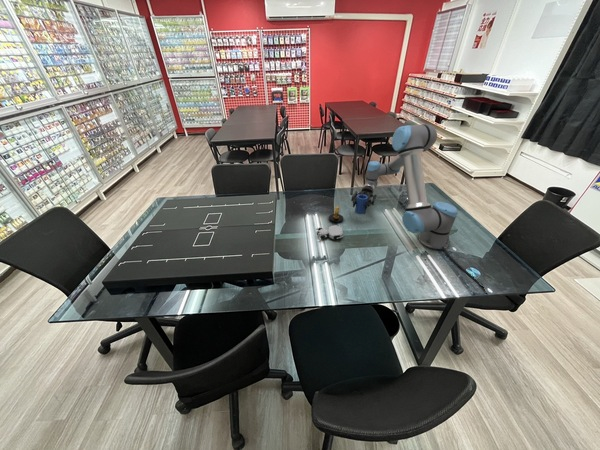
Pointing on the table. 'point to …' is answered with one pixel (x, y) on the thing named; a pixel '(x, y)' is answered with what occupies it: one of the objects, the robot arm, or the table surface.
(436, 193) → the table surface
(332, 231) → the robot toy
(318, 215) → the table surface
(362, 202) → the blue sleeve
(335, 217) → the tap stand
